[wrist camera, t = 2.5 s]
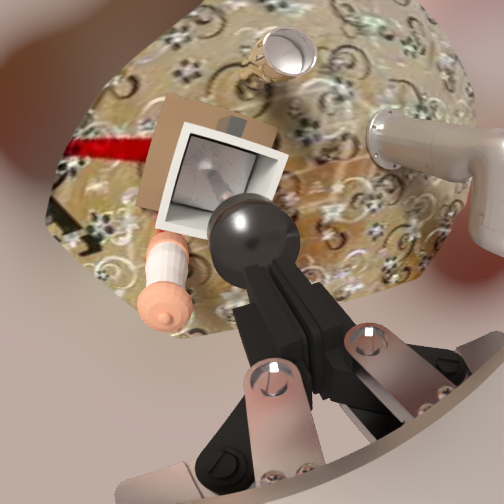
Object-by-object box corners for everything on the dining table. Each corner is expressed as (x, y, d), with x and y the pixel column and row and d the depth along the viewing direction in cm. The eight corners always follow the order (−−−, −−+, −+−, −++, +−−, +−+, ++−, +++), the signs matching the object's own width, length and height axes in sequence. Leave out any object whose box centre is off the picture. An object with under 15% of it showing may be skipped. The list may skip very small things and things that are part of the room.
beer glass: (247, 98, 39) (277, 86, 26) (228, 62, 36) (250, 33, 23) (284, 83, 39) (328, 68, 26) (267, 47, 36) (304, 19, 23)
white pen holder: (274, 127, 42) (337, 132, 25) (239, 226, 49) (275, 289, 31) (167, 94, 36) (155, 69, 19) (137, 202, 42) (109, 257, 25)
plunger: (254, 154, 31) (350, 199, 13) (234, 214, 34) (294, 320, 16) (191, 135, 28) (203, 149, 11) (172, 199, 31) (163, 301, 13)
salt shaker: (166, 222, 45) (158, 283, 28) (197, 249, 48) (208, 318, 32) (139, 252, 46) (122, 322, 29) (170, 276, 49) (169, 351, 33)
